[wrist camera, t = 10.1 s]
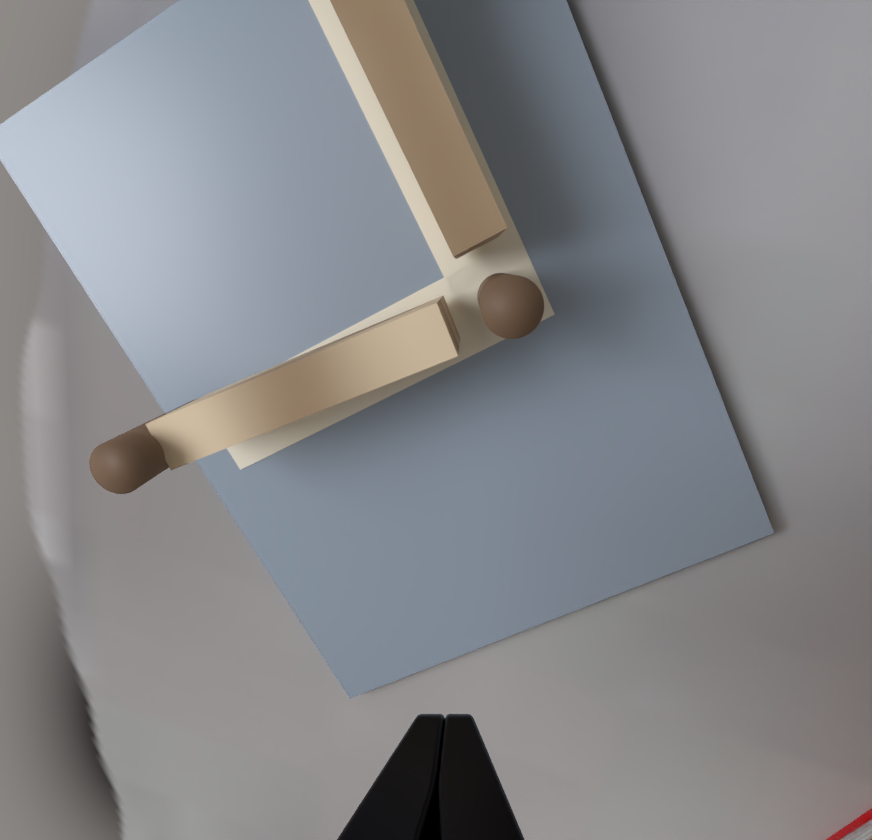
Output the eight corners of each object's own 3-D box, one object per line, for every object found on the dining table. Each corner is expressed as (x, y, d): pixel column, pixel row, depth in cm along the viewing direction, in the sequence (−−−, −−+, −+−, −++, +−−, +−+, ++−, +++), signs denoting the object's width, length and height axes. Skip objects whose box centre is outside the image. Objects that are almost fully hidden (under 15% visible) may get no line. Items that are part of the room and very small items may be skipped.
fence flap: (443, 295, 17) (434, 305, 12) (460, 338, 17) (457, 363, 12) (174, 408, 18) (79, 453, 14) (194, 444, 18) (107, 501, 14)
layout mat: (483, -192, 14) (484, -213, 14) (765, 525, 19) (775, 533, 19) (0, 139, 17) (-18, 134, 17) (352, 687, 22) (349, 699, 22)
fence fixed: (353, -73, 15) (288, -270, 10) (527, 304, 18) (554, 321, 12) (311, -44, 15) (222, -220, 10) (488, 324, 18) (497, 349, 12)
